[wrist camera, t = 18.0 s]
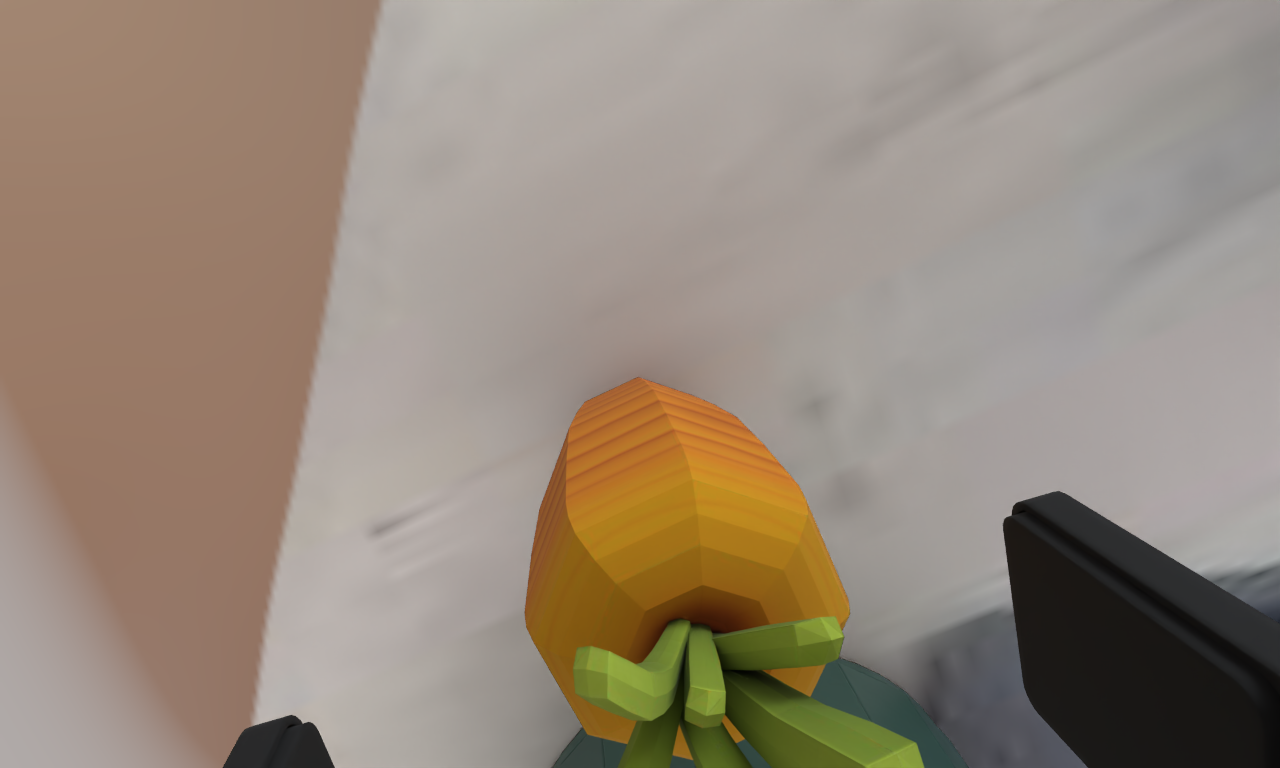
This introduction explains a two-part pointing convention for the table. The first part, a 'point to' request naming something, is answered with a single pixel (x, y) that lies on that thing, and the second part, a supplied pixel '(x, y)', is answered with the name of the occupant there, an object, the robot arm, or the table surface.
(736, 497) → the carrot
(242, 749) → the robot arm
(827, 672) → the pot
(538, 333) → the table surface
